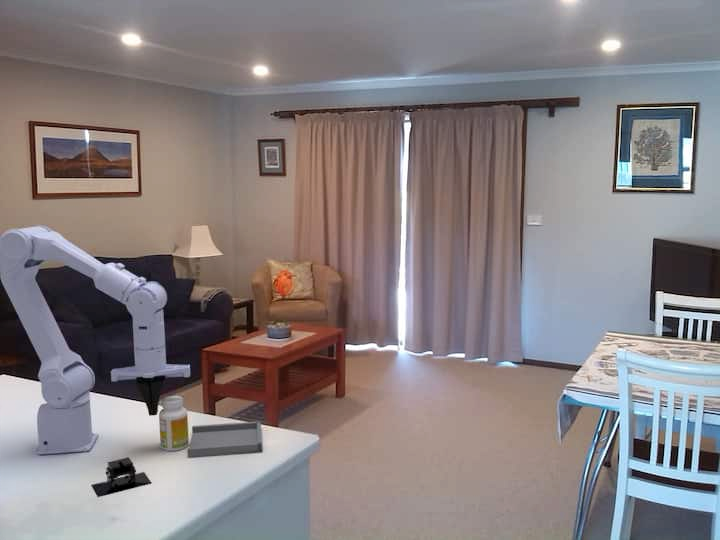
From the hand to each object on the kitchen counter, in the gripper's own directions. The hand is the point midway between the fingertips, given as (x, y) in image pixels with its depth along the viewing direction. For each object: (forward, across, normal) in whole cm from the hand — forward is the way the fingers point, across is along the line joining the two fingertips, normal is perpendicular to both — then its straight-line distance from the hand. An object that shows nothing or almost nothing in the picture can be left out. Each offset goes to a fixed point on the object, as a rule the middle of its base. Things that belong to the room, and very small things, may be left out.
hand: (153, 413), depth 129 cm
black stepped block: (+8, -4, -15) cm, 17 cm away
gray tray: (+7, +14, 0) cm, 15 cm away
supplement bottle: (+7, +4, 0) cm, 8 cm away
